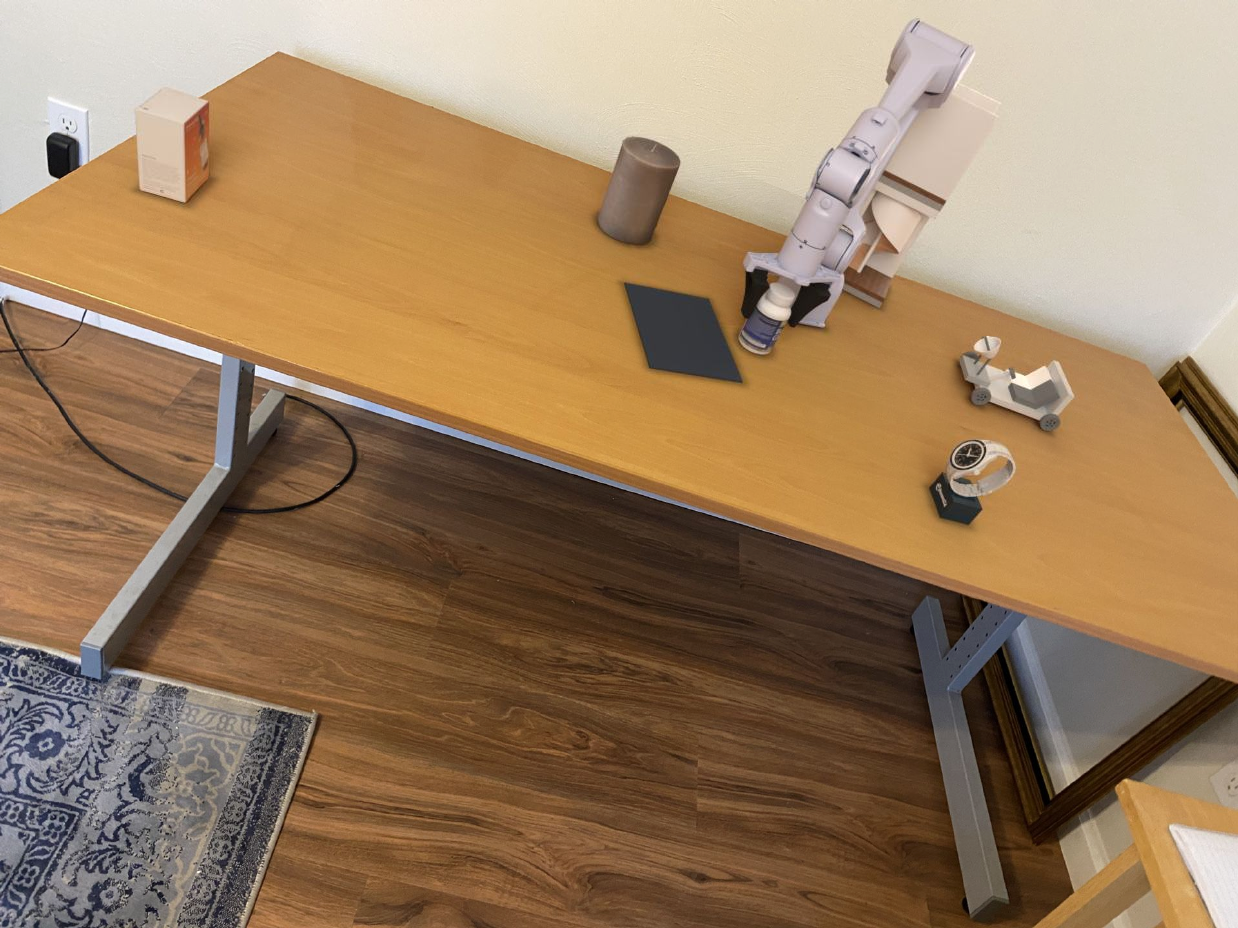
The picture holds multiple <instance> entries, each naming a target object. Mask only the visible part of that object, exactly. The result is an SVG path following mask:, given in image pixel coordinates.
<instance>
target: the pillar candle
mask: <svg viewBox="0 0 1238 928" xmlns="http://www.w3.org/2000/svg"><path fill="white" fill-rule="evenodd" d="M680 167H681V159H680V156H679V155H678V154H677V153H676V152H675V151H674V150H672V149H671V148H670V147H668V146H667V145H664V144H663V143H661V142H659V141H656V140H654V139H650V138H648V137H647V138H646V137H642V136H634V135H632V136H626V137H625V138H624V139H623V140H622V142H621V146H620V149H619V153H618V156H617V159H616V161H615V164H614V168H613V170H612V172H611V176H610V179H609V182H608V185H607V188H606V191H605V194H604V197H603V200H602V204H601V206H600V209H599V212H598V215H597V223H598V225H599V227H600V229H601V230H602V231H603V232H604V233H605V234H606V235H608V236H609V237H611V238H612V239H614V240H617V241H619V242H622V243H625V244H630V245H643V246H644V245H647V244H650V243H651V242H652V239H653V236H654V233H655V231H656V228H657V226H658V223H659V220H660V218H661V215H662V213H663V210H664V208H665V205H666V203H667V201H668V198H669V194H670V192H671V190H672V187H673V185H674V182H675V179H676V177H677V175H678V172H679V169H680Z"/></svg>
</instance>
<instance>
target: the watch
mask: <svg viewBox="0 0 1238 928" xmlns="http://www.w3.org/2000/svg"><path fill="white" fill-rule="evenodd" d="M998 456H1000V457H1003V458H1006V459H1007V460H1006V464H1005V465H1004V466H1003V467H1001V469H997V470H995V471H993V472H992V473H990V474H989V475H987V476H985V477H983V478H980V479H978V480H976V483H973V482H972V480H971V479H969V478H965V476H973V475H974V476H979V475H980V474H981V472H982V471H983V470H984V469H985V468H986V467H987V466H988V464H990V463H991V462H993V461H995V460H997V459H998ZM1016 466H1017V465H1016V462H1015V460H1014V458H1013V455H1012V454H1011V452H1010V450H1009V448H1008V447H1006V445H1004V444H1002V443H1001V442H998V441H993V440H989V439H978V438H971V439H967V440H965V441H962V442H960V443H959V444H957V445H956V446H955V447H954V448H953V449H952V451H951V452H950V455H949V457H948V459H947V460H946V465H945V471H944V472H942V471H941V473H940V474H939V475H938V476H937V478H936V479H935V480H934V481H933V482H932V484H931V485H930V486H929V487H928V488H929V491H930V494H931V497H932V500H933V502H934V505H935V508H936V511H937V513H938V516H939V518H940V519H944V520H948V521H952V522H956V523H959V524H963V525H966V526H969V525H971V523H972V522H973V521H974V520H975V519H976V518H977V516H978V515H980V513H981V512H982V511H983V509H984V508H983V506H982V503H981V501H980V499H979V497H980V496H981V497H984V496H987V495H989V494H992V493H994V492H996V491H997V490H999V489H1001V488H1003V487H1005V485H1007V484H1008V483H1010V482H1009V481H1010V480H1011V479H1012V478H1013V477H1014V474H1015V473H1016V468H1017V467H1016Z"/></svg>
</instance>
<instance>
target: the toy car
mask: <svg viewBox="0 0 1238 928" xmlns="http://www.w3.org/2000/svg"><path fill="white" fill-rule="evenodd" d="M1001 344H1002V340H1001V339H1000V338H999V337H997V336H989V335H986V336H982V337H981V339H979V340H978V341H976V342H975V343H974V344H973V349H974V351H972V350H967V351H965V352H963V353H962V354H961V355H960V357H959V359H958V361H959V364H960V368H961V372H962V375H963V377H964V380H965V381H967V382H969V383H972V384H973V385H974V389H973V390H972V391H971V393H970V400H971V403H973V404H974V405H977V406H984V405H986V404H988V403H989V402H990V403H993V404H995V405H998V406H1001V407H1003V408H1005V409H1009V410H1011V411H1014V412H1016V413H1019V414H1022V415H1024V416H1027V417H1030V418H1032V419H1035V420H1037V421H1038V425H1039V427H1040V429H1041V430H1043V431H1045V432H1052V431H1056V430H1057V429H1058V428H1059V427H1060V426H1061V418H1060V416H1059V415H1060V414H1061V412H1063V411H1064V409H1065V408H1066V407H1067V406H1068V405H1069V404H1070V402H1071V401H1072V400H1073V399H1074V398H1075V397H1076V396H1075V395H1074V392H1073V390H1072V388H1071V386H1070V384H1069V381H1068V379H1067V377H1066V375H1065V373H1064V371H1063V368H1062V366H1061V364H1060V362H1059V361H1057V360H1054V359H1052V361H1051V362H1049V364H1048V365H1047V366H1046V365H1043V366H1041V367H1039V368H1038V369H1035V370H1034V371H1032V372H1030V373H1028V374H1027V375H1024V374H1021V373H1018V372H1017V371H1015V369H1014V366H1009V367H1008V368H1006V369H1005V370H1002V369H999V368H997V367H994V366H993V365H990V364H989V362H990V361H991V360H992V359H993V358H995V357H996V356H997V354H998V352H999V351H1000V347H1001ZM982 357H983V358H984V359H986V361H985V362H982V361H980V359H981V358H982Z"/></svg>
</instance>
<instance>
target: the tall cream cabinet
mask: <svg viewBox="0 0 1238 928" xmlns="http://www.w3.org/2000/svg"><path fill="white" fill-rule="evenodd" d="M1001 105H1002V103H1001V102H1000V101H998V100H996V99H994V98H992V97H990V96H988V95H985V94H984V93H981V92H979V91H977V90H975V89H973V88H971V87H969V86H967V85H965V84H963V83H960V82H959V83H958V84H957V86H956V87H955V88H954V90H953V92H952V93H951V95H950V97H949V98H948V100H947V101H946V102H945V103H943V105H942V106H941V108H935V109H926V110H925V111H924V112H923V113H922V114H921V115H920V116H919V117H918V118H917V119H916V121H915V122H914V123H913V124H912V126H911V128H910V129H909V131H908V133H907V134H906V136H905V137H904V139H903V141H902V142H901V144H900V146H899V147H898V149H897V151H896V152H895V154H894V155H893V157H892V159H891V160H890V162H889V164H888V165H887V167H886V169H885V170H884V172H883V173H882V175H881V177H880V178H879V180H878V182H877V183H876V185H875V187H874V188H873V190H872V191H871V193H870V195H869V196H868V198H867V200H866V201H865V203H864V205H863V206H862V208H861V209H860V214H861V217H862V219H863V222H864V224H865V227H866V232H865V234H866V235H865V237H864V239H863V241H862V242H861V245H860V247H859V249H858V251H857V252H856V254H855V256H854V258H853V259H852V261H851V262H850V264H849V265H848V267H847V268H846V270H845V271H844V272H843V274H844V285H843V289H842V291H845V292H847V293H849V294H850V295H853V296H854V297H856V298H859V299H861V300H863V301H864V302H866V303H869V304H870V305H873V306H874V307H876V308H878V309H880V307H881V306H882V305H883V303H884V301H885V300H886V297H887V294H888V292H889V288H890V285H891V284H892V283H891V282H892V279H893V278H894V276H895V275H896V273H897V271H898V270H899V268H900V266H901V265H902V263H903V262H904V260H905V258H906V257H907V255H908V253H909V252H910V250H911V249H912V247H913V246H914V244H915V242H916V241H917V239H918V237H919V236H920V234H921V233H922V231H923V229H924V228H925V227H926V225H927V224H928V222H929V220H930V219H931V218H932V219H934V220H936V219H937V217H939V216H938V215H939V214H940V212H941V211H942V209H943V208H944V206H945V205H946V203H947V201H948V200H949V199H950V196H951V195H952V194H953V192H954V190H955V189H956V187H957V186H958V184H959V182H960V181H961V179H962V177H963V176H964V174H965V173H966V171H967V170H968V168H969V167H970V165H971V163H972V162H973V161H974V159H975V157H976V155H977V154H978V153H979V151H980V149H981V147H982V146H983V145H984V143H985V141H986V140H987V138H988V136H989V135H990V133H991V132H992V131H993V129H994V127H995V125H996V124H997V122H998V121H999V119H1000V115H997V114H996V113H997V112H998V110H999V108H1000V107H1001ZM846 232H848V233H850V234H851V235H853V232H851V231H850V230H849V229H847V230H846Z"/></svg>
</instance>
